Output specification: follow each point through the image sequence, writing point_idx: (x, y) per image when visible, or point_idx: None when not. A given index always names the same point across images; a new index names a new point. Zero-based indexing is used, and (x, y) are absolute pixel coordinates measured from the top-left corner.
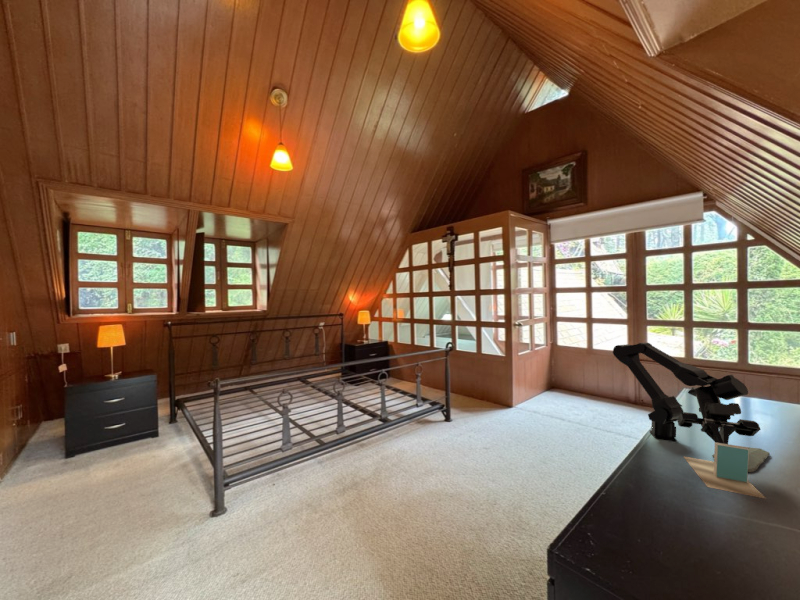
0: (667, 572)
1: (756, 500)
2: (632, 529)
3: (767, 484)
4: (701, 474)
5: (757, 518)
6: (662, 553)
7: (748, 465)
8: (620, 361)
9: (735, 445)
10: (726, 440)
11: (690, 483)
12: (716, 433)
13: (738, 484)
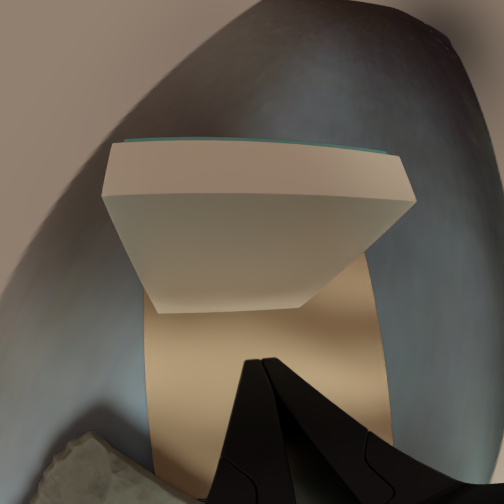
0: (378, 12)
1: None
2: (423, 48)
3: (62, 330)
4: (353, 271)
5: (242, 75)
6: (387, 24)
7: (78, 469)
8: None
9: (219, 191)
10: (251, 434)
11: None
12: (402, 475)
13: None
